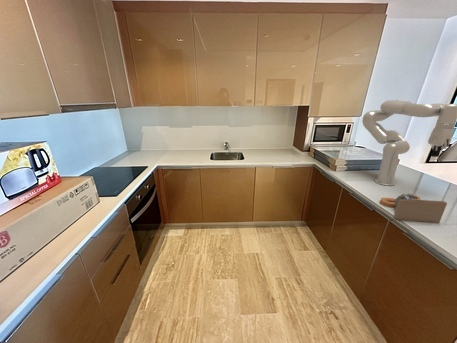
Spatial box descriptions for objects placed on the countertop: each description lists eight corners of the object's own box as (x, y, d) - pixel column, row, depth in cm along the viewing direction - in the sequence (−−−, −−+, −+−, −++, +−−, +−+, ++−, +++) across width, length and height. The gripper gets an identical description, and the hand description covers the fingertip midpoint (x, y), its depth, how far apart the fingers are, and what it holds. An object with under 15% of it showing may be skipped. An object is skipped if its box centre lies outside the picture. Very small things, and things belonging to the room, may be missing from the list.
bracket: (412, 204, 119) (416, 194, 117) (419, 211, 112) (423, 201, 109) (378, 200, 125) (380, 191, 123) (382, 207, 118) (385, 197, 116)
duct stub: (383, 208, 116) (388, 190, 112) (422, 210, 112) (429, 192, 108) (395, 220, 105) (401, 200, 101) (439, 223, 101) (447, 203, 97)
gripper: (427, 124, 120) (418, 153, 127) (447, 128, 107) (436, 159, 113) (441, 124, 119) (432, 153, 125) (464, 128, 105) (452, 160, 112)
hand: (434, 156), depth 119 cm, fingers closed
